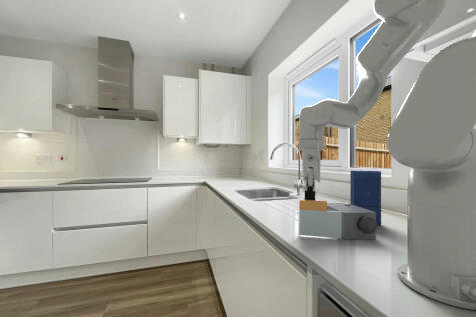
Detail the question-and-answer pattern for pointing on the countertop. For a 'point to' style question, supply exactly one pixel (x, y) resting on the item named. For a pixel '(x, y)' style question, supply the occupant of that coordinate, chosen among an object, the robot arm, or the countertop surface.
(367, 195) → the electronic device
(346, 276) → the countertop surface
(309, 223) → the side door
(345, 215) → the camera case
